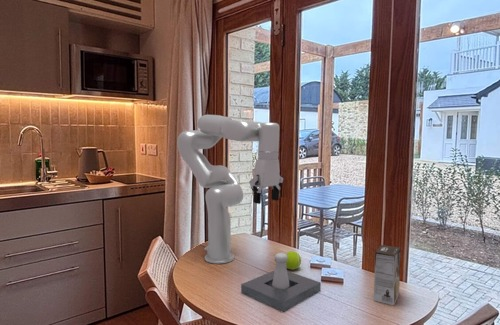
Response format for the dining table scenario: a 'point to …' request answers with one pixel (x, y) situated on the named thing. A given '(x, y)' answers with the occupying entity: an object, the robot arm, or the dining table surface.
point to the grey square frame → (276, 298)
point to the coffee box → (387, 274)
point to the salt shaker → (280, 272)
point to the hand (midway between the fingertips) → (266, 201)
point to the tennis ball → (293, 260)
